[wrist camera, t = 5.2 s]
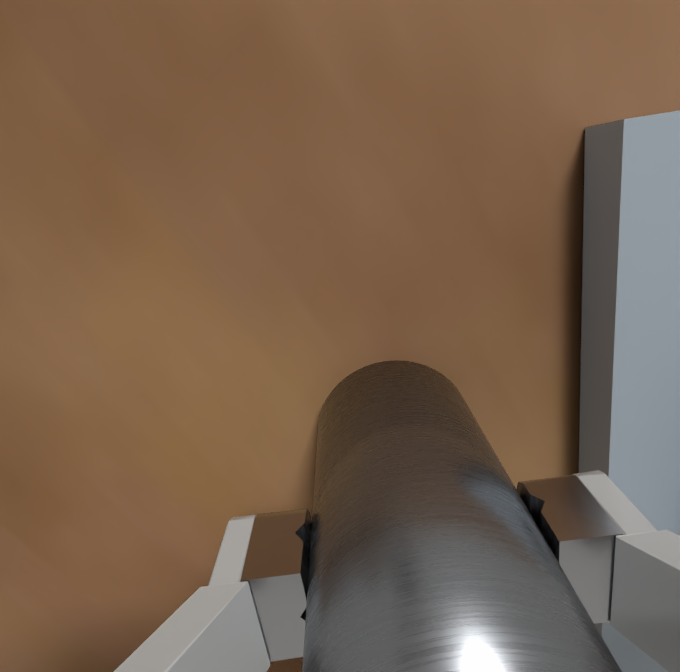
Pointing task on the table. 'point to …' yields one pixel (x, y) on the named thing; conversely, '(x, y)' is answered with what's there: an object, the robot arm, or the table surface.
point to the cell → (429, 543)
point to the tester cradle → (632, 325)
